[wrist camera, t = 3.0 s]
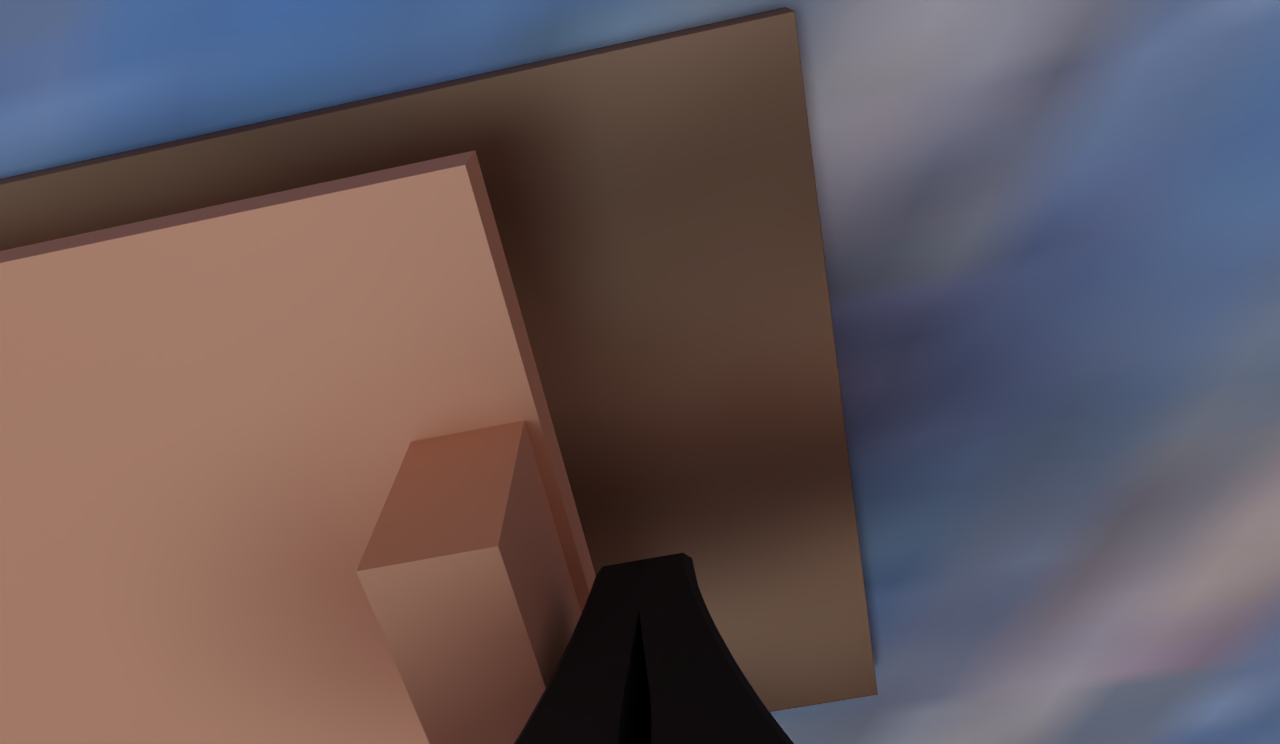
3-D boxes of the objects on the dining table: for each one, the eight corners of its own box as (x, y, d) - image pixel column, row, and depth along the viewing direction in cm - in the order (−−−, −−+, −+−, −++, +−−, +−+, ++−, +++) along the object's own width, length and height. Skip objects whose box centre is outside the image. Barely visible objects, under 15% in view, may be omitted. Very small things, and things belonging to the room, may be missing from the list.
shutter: (667, 830, 17) (678, 1040, 14) (120, 913, 18) (8, 1131, 15) (475, 150, 12) (416, 235, 8) (-308, 316, 12) (-639, 452, 9)
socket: (868, 667, 20) (910, 793, 17) (36, 802, 22) (-58, 940, 19) (786, 7, 14) (827, 27, 11) (-356, 257, 16) (-583, 333, 13)
